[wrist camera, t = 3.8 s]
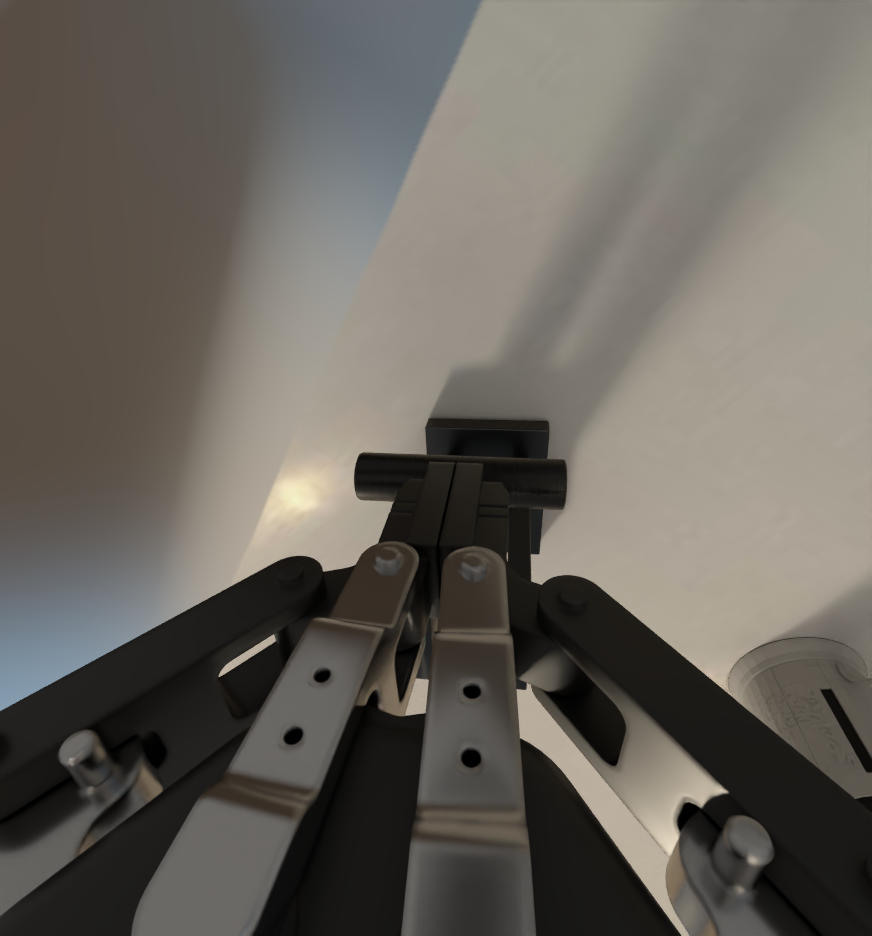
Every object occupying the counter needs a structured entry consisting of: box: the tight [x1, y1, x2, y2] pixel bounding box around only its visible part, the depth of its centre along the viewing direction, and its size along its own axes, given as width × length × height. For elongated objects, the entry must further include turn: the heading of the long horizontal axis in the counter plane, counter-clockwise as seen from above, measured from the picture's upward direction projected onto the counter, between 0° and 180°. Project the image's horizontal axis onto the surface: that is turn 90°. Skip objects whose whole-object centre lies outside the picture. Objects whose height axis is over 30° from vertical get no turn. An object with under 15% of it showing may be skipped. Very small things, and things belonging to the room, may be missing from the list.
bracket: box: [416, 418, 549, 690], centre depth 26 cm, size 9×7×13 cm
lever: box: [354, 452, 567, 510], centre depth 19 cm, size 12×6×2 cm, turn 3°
